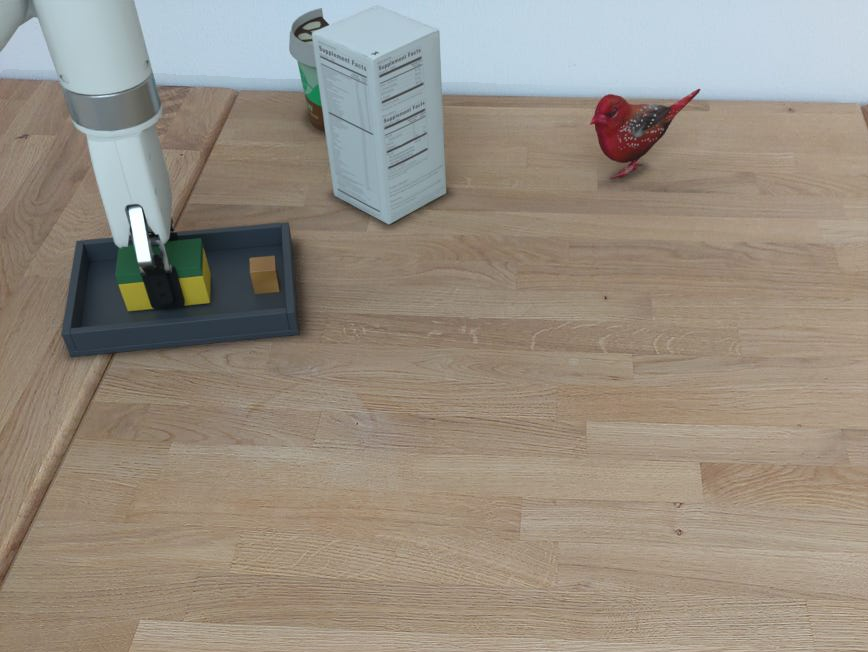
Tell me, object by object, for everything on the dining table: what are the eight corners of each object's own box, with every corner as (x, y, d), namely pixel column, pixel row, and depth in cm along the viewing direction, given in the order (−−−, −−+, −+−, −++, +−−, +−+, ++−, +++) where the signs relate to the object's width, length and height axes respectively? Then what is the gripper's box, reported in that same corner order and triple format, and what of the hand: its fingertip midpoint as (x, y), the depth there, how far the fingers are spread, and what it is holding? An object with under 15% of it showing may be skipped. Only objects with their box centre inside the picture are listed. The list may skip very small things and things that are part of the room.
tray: (70, 357, 91) (60, 334, 89) (84, 263, 100) (76, 240, 98) (299, 334, 93) (294, 311, 91) (292, 244, 102) (288, 221, 100)
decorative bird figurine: (574, 190, 109) (582, 97, 100) (682, 138, 115) (697, 48, 107) (592, 200, 107) (601, 107, 99) (700, 147, 114) (716, 56, 106)
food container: (285, 105, 120) (270, 16, 112) (331, 94, 122) (320, 6, 114) (321, 149, 114) (309, 58, 106) (369, 137, 116) (360, 47, 108)
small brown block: (254, 294, 96) (249, 272, 94) (254, 280, 98) (249, 257, 96) (279, 292, 96) (275, 269, 94) (279, 277, 98) (274, 255, 96)
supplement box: (449, 194, 108) (444, 29, 94) (389, 227, 104) (375, 60, 91) (390, 164, 112) (377, 1, 98) (330, 195, 108) (308, 29, 94)
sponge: (127, 311, 94) (114, 275, 91) (130, 282, 97) (118, 245, 94) (210, 303, 95) (200, 266, 92) (210, 274, 98) (201, 237, 95)
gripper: (76, 56, 86) (136, 244, 100) (56, 152, 76) (126, 345, 91) (162, 50, 86) (209, 237, 101) (153, 145, 76) (207, 337, 91)
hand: (169, 286), depth 96 cm, fingers closed on sponge, 5 cm apart
